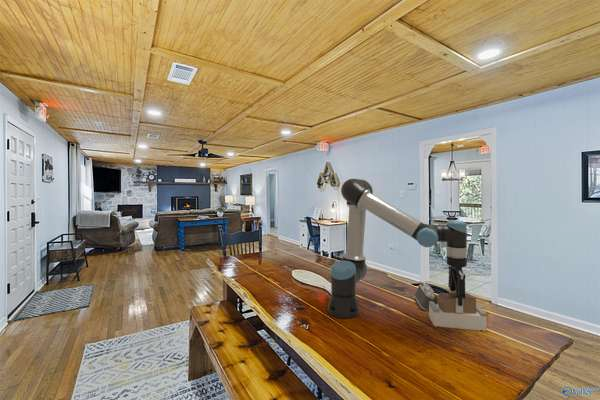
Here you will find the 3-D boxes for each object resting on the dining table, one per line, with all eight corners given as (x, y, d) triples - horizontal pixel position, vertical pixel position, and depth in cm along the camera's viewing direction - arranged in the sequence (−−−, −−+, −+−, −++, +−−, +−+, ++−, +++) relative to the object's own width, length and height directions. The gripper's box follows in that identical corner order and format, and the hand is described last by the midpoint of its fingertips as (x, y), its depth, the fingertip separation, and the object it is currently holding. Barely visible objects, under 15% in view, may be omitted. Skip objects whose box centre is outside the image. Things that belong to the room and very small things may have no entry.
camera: (419, 308, 131) (428, 289, 129) (411, 294, 146) (420, 278, 145) (437, 317, 129) (447, 298, 128) (428, 302, 145) (436, 285, 144)
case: (444, 312, 115) (444, 298, 115) (438, 306, 121) (438, 292, 121) (476, 313, 114) (476, 298, 114) (468, 307, 120) (468, 293, 120)
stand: (434, 326, 115) (434, 309, 115) (429, 316, 124) (429, 301, 124) (486, 331, 111) (486, 313, 111) (477, 321, 120) (477, 305, 119)
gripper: (475, 262, 106) (475, 319, 107) (458, 252, 125) (458, 301, 126) (454, 261, 108) (454, 318, 109) (440, 251, 127) (440, 299, 128)
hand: (456, 308), depth 117 cm, fingers closed on case, 6 cm apart
